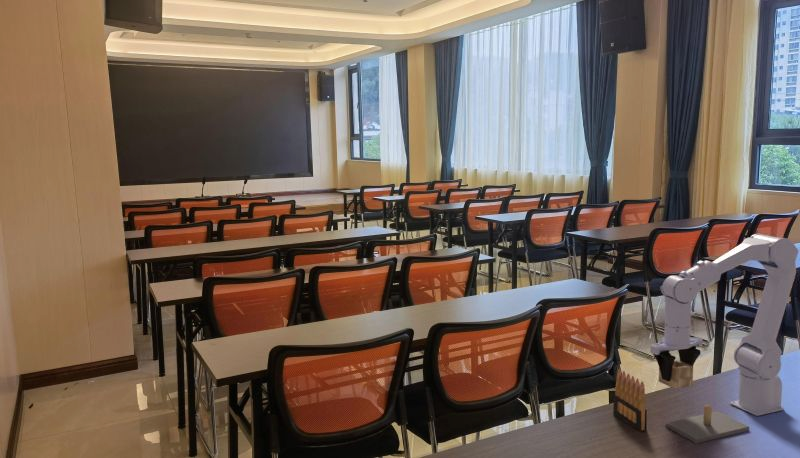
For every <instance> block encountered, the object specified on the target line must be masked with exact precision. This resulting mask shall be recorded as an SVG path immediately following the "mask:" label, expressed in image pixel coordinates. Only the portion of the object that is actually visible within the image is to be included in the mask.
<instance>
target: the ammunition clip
mask: <svg viewBox="0 0 800 458" xmlns="http://www.w3.org/2000/svg"><path fill="white" fill-rule="evenodd" d="M634 376H635V375H632V376H631V375H630V373H629V372H628V373H627V374H626V372H625V370H623V371H622V370H621V368H618V370H617V373H616V382H615V394H614V395H613V412H612V414H614V415H615V416H616V417H618V418H619V419H621V420H622V421H623V422H625V423H627V424H628V425H630V426H631V427H632V428H633V429H635V430H636V431H638V432H645V431H647V430H648V429H647V426H648V425H647V423H648V422H647V421H648V420H647V419H648V415H647V413H648V412H647V411H648V410H647V409H646V391H645V390H646V389H645V384H644V381H643V380H642V381H639V378H636V380H635V377H634Z"/></svg>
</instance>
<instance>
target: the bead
mask: <svg viewBox="0 0 800 458" xmlns="http://www.w3.org/2000/svg"><path fill="white" fill-rule="evenodd" d="M693 380H694V365H693V366H692V365H689V364H687V363H684V362H682V361H680V359H676V358H675V360H674V363H673V366H672V375H671V380H670V381H666V380H664V379H662V376H661V372H660V368H659V367H658V382H659V383H660V384H661V383H662V384H664V385H666V386H668V387H670V388H672V389H674V390H677V389H683V388H688V387H693V384H694V383H693Z"/></svg>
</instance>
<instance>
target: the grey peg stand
mask: <svg viewBox="0 0 800 458" xmlns="http://www.w3.org/2000/svg"><path fill="white" fill-rule="evenodd" d="M712 408H713V407H712V406H711V405H709V404H705V405H704V407H703V413H702V414H698V415H693V416H690V417H689V416H688V417H686V418H680V419H677V420H672V421H668V422H665V427H666V428H667V429H669V430H671V431H673V432H675V433H676V434H679V435H680V436H682V437H684V438H685V439H688V440H689V441H691V442H692V443H695V444H699V443H703V442H707V441H711V440H715V439H719V438H724V437H727V436H731V435H735V434H737V435H738V434H740V433H745V432H748V431H750V426H749V425H746V424H745V423H743V422H740V421H738V420H736V419H734V418H732V417H730V416H728V415H726V414H724V413H721V412H719V411H712Z"/></svg>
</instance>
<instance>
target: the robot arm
mask: <svg viewBox="0 0 800 458" xmlns="http://www.w3.org/2000/svg"><path fill="white" fill-rule="evenodd" d="M798 255H799V249H798V248H797V246H796V245H795V243H794V242H793V241H792V239H791V240H790V239H789V238H786V237H777V236H771V235H766V234H763V233H755V234H752V235H751V236H750V237H747V238H744V239H743V241H742V242H741V243H740V244H738V245H737V246H736V247H734V248H732V249H730V250H729V251H728V252H726V253H724V254H722V255H721V256H720V257H718V258H716V259H715V260H713V261H710V260H698V261H697V262H696V265H693V266H692V267H690V268H689V269H686V270H681V271H680V273H679V274H678V275H669V276H668V277H666V279H664V281H663V283H662V285H661V286H660V287H659V288H660V291H661V292H660V293H661V294H663V297H664V303H665V305H664V332H663V336H664V337H662V338H661V341H658V342H656V343H654V344H650V348H649V349H650V353H651V354H652V355H653V356H654V358H655V360H656V362H657V366H658V369H659V368H660V372H661V376H662V379H664V380H666V381H670V380H671V375H672V366H673V363H674V360H675V359H676V356H675V355H672V353H670V352H674V351H677V353H678V356H679V361H682V362H684V363H687V364H689V365H692V366H693V367H694V365H695V363H696V361H697V360H698V358H699V356H701V350H700V349H698V348H703V340H704V339H702V338H700V337H696V336H695V337H691V316H692V315H691V314H692V302H693V301H694V300H695V298H696V297H697V295H698V294H699V292H701V291H703V290H704V289H706V288H708V287H710V286H711V285H714V284H716V283H717V282H719V281H720V280H721V276H722V274H724V273H726V272H729V271H730V270H733V269H735V268H736V267H738V266H740V265H743V264H745V263H747V262H749V261H756V262H757V263H758V264H760V265H761V266H762V267H763V269H764V270H765V271H766V273H767V278H766V280H765V284H764V288H763V291H762V294H761V297H760V301H759V304H758V308H757V311H756V315H755V317H754V321H753V324H752V327H751V331H750V333H749V334H747V335H744V336H743V337H742V338H741V339H740V340H741V341H740V343H739V345H738V346H737V347H736V348H735V349H734V352H733V360H734V362H735V363H736V364H737V365H738V370H739V383H738V387H739V388H738V400H733V401H729V402H730V403H729V404H730V405H732V406H734V407H736V408H738V409H740V410H743V411H745V412H747V413H750V414H752V415H754V416H762V415H766V414H771V413H775V412H780V411H783V410H785V407H783V406H782V398H783V397H782V395H783V394H782V393H783V392H782V391H783V384H782V380H781V378H780V376H778V374H779V373H780V372H781V369H782V362H781V357H782V353H783V351H782V350H781V348H780V346H779V344H778V343H777V337H778V334H779V330H780V328H781V324H782V320H783V317H784V314H785V312H786V311H785V310H786V307H787V304H788V301H789V298H790V294H791V291H792V287H793V284H794V281H795V278H796V274H797V267H796V266H797V265H796V264H797V263H796V261H797V258H798Z"/></svg>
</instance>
